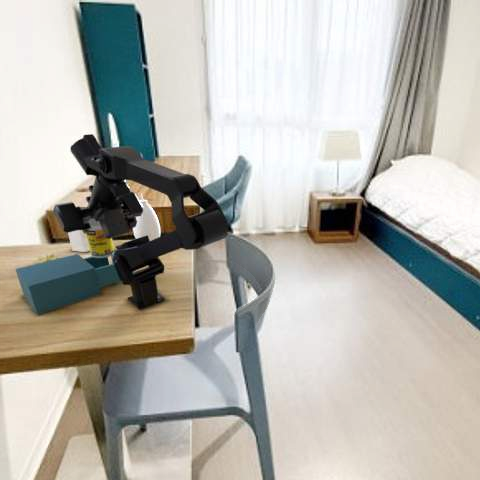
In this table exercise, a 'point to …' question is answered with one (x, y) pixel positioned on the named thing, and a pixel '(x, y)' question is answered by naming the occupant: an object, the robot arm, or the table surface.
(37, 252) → the table surface
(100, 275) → the drawer
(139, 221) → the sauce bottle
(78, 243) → the jar
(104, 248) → the supplement bottle
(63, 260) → the cabinet
